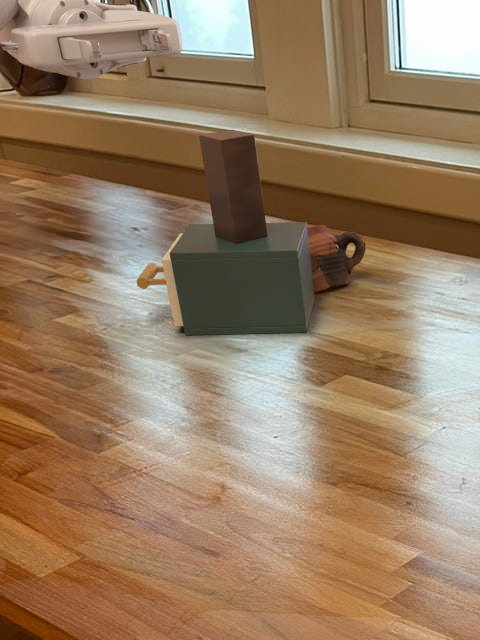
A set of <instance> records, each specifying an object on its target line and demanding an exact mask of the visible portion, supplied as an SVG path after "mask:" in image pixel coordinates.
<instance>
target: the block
mask: <svg viewBox="0 0 480 640" xmlns="http://www.w3.org/2000/svg"><path fill="white" fill-rule="evenodd" d="M198 138H199V145H200V151H201V157H202V164H203V170H204V175H205V180H206V187H207V193H208V199H209V205H210V212H211V218H212V224H213V225H214V231H215V236H216V237H218V238H221V239H224V240H227V241H230V242H233V243H236V244H237V243H241V242H246V241H250V240H254V239H258V238H262V237H267V236H268V234H267V227H266V223H267V219H266V212H265V205H264V196H263V188H262V183H261V175H260V168H259V159H258V151H257V144H256V136H255V134H253V133H249V132H245V131H239V130H235V129H228V130H222V131H215V132H209V133H204V134H203V133H202V134H199V135H198Z"/></svg>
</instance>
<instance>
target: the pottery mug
mask: <svg viewBox="0 0 480 640" xmlns="http://www.w3.org/2000/svg"><path fill="white" fill-rule="evenodd" d="M307 229H308V239H309V248H310V257H311V267H312V276H313V285H314V293H318V292H322V291H325V290H327V289H329V288H333V287H340V286H343V285H344V286H345V285H349V283H350V282H349V275H351V274H352V271H353V269H354V268H355V267H356V266H357V265H359V264H360V263H361V262H362V260H363V259H364V256H365V254H366V249H367V248H366V246H367V245H366V242H365V240H363V237H362V236H361V234H359V232H358V233H357V232H356V231H347V232H344V233H341V234H339V235H338V234H337V235H333V234H331V233H329V231H328V227H327V225H324V224H317V225H312V226H309V227H307ZM350 244H353V245H354V252H353V253H352V256H351V257H349V256H348V255H347V250H348V247H349V245H350ZM319 269H320V270H319ZM316 271H317V272H316Z"/></svg>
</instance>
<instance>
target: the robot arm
mask: <svg viewBox="0 0 480 640" xmlns="http://www.w3.org/2000/svg"><path fill="white" fill-rule="evenodd" d="M0 47H1V48H2V50H3V51H6V52H7V53H8V54H9V55H11V56H12V57H13V58H14V59H16V60H17V61H18V62H19V63H21V64H22V65H25V66H26V67H30V68H33V69H36V70H39V71H43V72H46V73H53V74H54V73H55V74H56V73H57V74H59V75H63V76H67V77H72V78H77V79H82V80H92V79H96V78H99V77H101V76H102V75H103V74H107V73H109V72H112V71H114V70H117V69H119V68H123V67H126V66H131V65H137V64H139V63H140V64H141V63H144V62H146V61H147V59H149V58H155V57H165V56H175V55H179V54H181V52H182V51H183V41H182V34H181V29H180V25H179V23H178V21H177V20H176V19H175V18H173V17H170V16H165V15H162V14H158V13H155V12H154V13H153V12H148V11H142V10H138V7H137V5H135V4H129V3H108V2H99V1H96V0H0Z"/></svg>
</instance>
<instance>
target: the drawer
mask: <svg viewBox="0 0 480 640" xmlns="http://www.w3.org/2000/svg"><path fill="white" fill-rule="evenodd" d="M183 233H184V232H180V233H179V235H178V236H177V237H176V239H175V240H174V241H173V243H172V244H171V246H170V247H169V249H168V250H167V252H166V253H165V254H164V256H163V257H162V258H161V264H162V266H158V265H157V264H156V263H154V262H149V263H148V264H147V265H146V266H145V268H144V269H143V270H142V272H140V275H139V276H138V277H137V279H136V285H137V287H138V288H139V289H142V290H145V289H147V288H148V287H149V286H163V285H164V286H166V289H167V295H168V299H169V305H170V310H171V315H172V319H173V325H174V327H184V326H183V321H182V315H181V310H180V305H179V300H178V295H177V289H176V284H175V279H174V274H173V269H172V264H171V259H170V254H169V253H170V252H171V250H172V249H173V247H174V246H175V244H176V243H177V242H178V240H179V239H180V237H181V236H182V234H183ZM158 273H163V275H164V278H161V277H160V278H155V277H156V276H157V274H158Z"/></svg>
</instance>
